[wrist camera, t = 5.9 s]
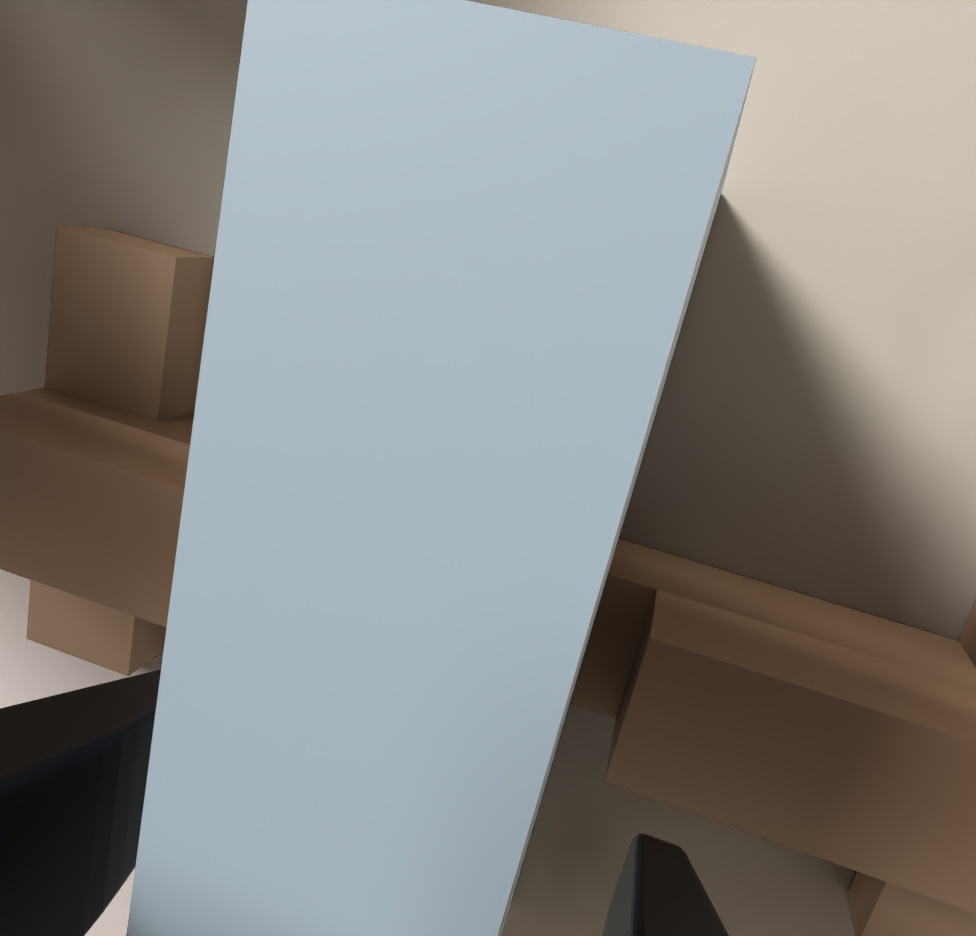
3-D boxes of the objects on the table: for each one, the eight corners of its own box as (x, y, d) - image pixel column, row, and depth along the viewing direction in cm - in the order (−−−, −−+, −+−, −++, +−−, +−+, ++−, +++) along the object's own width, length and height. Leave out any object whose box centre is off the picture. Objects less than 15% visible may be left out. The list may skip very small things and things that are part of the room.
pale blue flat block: (511, 903, 15) (304, 1590, 7) (382, 853, 15) (58, 1452, 8) (721, 191, 11) (756, 59, 4) (547, 152, 12) (253, -42, 4)
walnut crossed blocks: (981, 943, 13) (1061, 1139, 10) (67, 615, 15) (-75, 695, 13) (1197, 517, 11) (1375, 611, 8) (102, 227, 13) (-58, 220, 11)
